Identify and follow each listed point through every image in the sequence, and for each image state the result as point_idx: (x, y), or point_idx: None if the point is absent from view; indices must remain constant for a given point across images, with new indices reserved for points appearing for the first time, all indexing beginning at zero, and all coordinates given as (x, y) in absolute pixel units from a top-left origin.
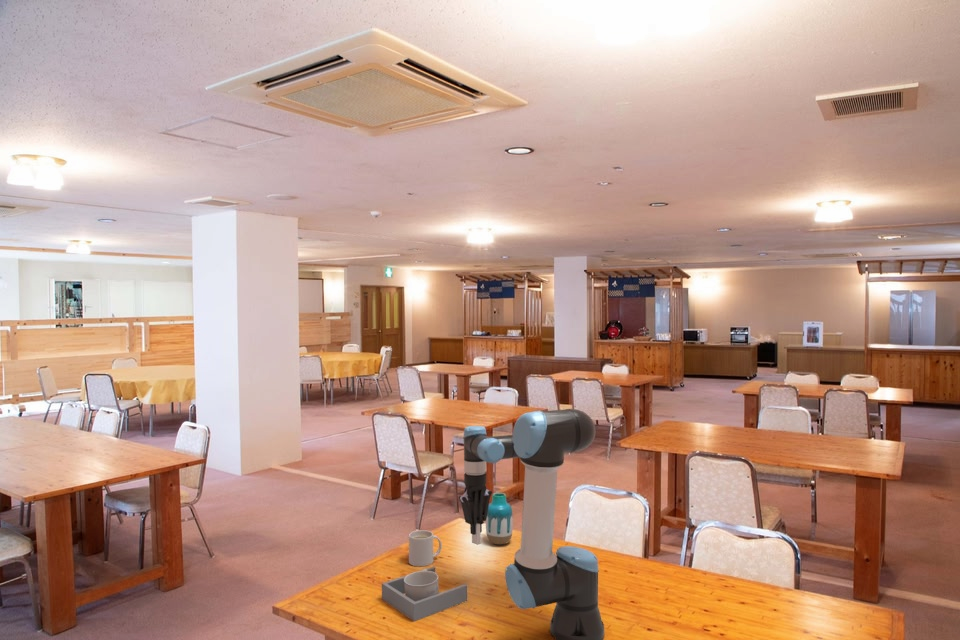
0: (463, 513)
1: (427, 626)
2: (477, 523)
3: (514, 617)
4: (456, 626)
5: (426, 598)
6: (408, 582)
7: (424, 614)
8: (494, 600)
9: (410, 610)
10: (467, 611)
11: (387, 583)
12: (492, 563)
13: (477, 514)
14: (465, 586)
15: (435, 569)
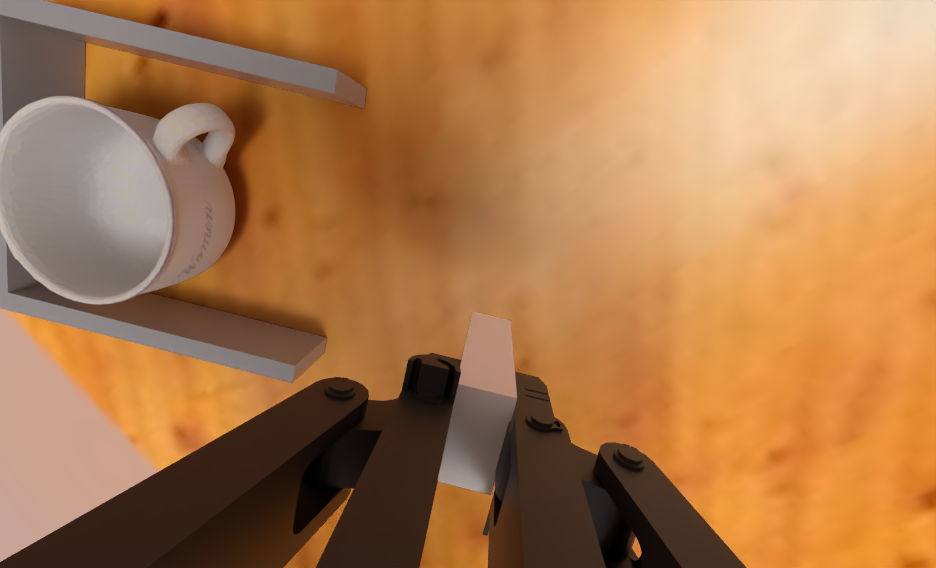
0: (196, 450)
1: (83, 350)
2: (495, 450)
3: None
4: (159, 430)
5: (64, 312)
6: (89, 114)
7: None
8: None
9: None
10: (262, 400)
11: (3, 15)
12: (751, 203)
13: (501, 542)
14: (282, 378)
15: (338, 95)
